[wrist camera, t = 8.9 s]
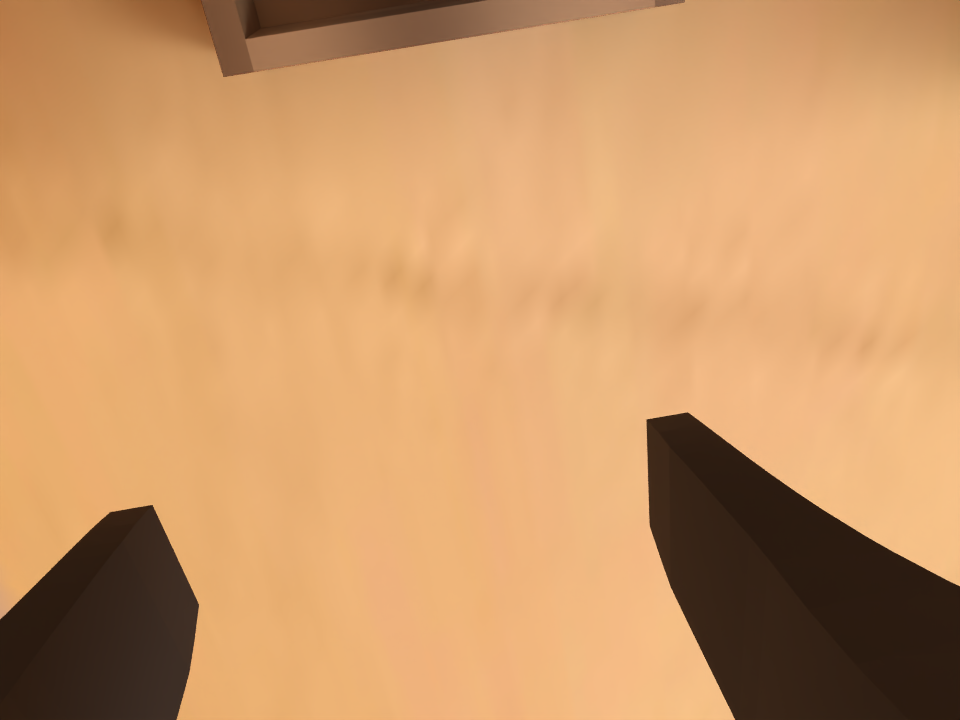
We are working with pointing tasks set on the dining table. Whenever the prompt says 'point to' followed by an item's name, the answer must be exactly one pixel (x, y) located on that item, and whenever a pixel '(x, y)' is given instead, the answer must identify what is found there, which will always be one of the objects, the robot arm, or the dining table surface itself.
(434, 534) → the dining table surface
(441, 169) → the dining table surface
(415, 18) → the walnut crate
